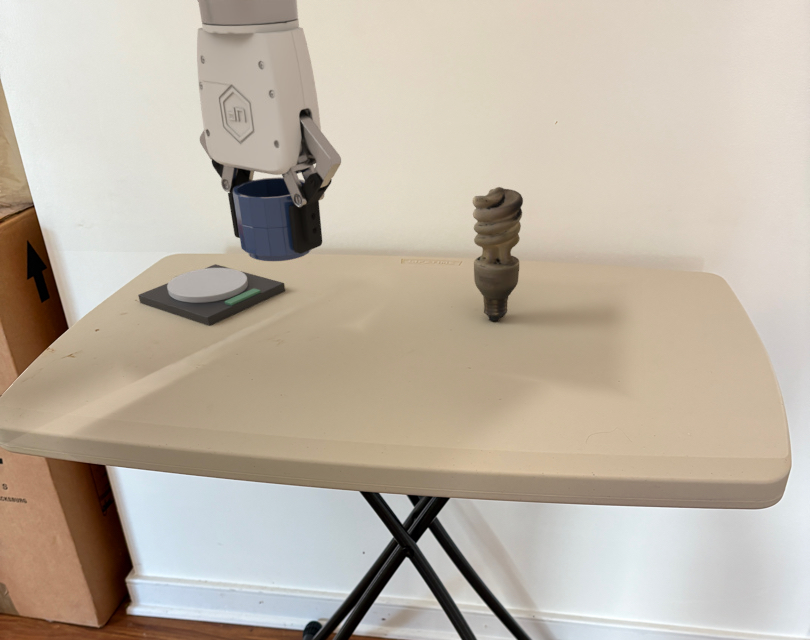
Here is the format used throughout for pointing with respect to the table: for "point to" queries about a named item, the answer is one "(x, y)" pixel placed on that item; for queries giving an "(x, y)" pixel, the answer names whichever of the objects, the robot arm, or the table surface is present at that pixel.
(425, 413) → the table surface
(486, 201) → the light bulb
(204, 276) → the scale
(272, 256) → the cup
